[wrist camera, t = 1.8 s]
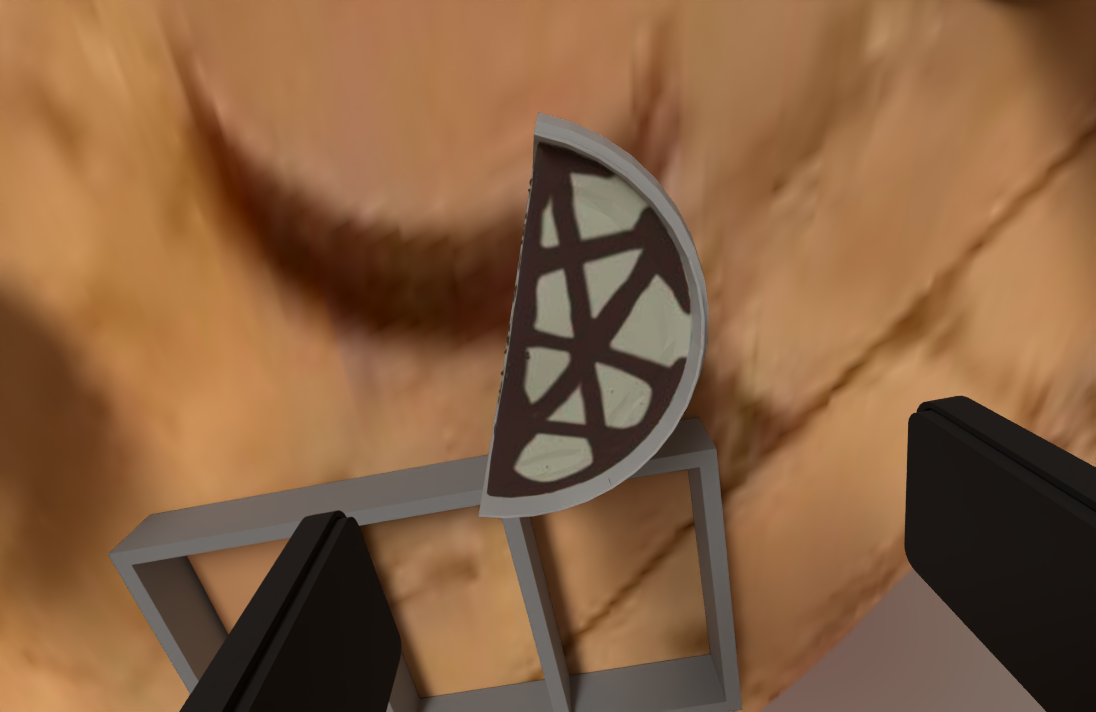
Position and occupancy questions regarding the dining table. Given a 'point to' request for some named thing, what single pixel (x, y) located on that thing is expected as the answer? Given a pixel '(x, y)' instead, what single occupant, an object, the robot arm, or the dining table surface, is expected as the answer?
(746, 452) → the dining table surface
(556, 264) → the food container
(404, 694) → the rack
